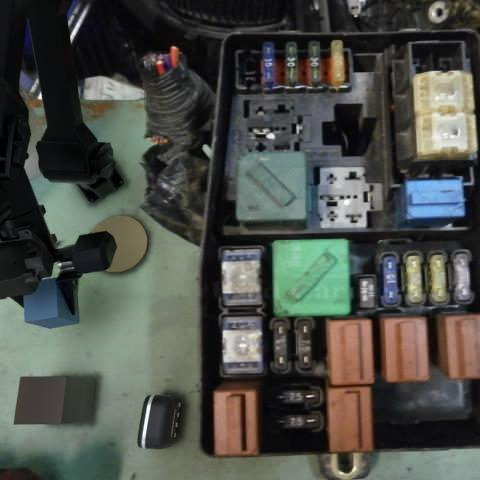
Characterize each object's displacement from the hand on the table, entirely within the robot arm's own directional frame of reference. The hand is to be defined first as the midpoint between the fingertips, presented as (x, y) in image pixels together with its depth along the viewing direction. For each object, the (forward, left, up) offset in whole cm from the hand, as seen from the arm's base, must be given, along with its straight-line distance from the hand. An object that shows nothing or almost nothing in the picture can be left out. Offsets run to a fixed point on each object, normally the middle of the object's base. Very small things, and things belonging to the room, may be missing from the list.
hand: (57, 316), depth 71 cm
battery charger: (+19, +3, -14) cm, 23 cm away
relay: (-1, +1, -2) cm, 2 cm away
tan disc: (-9, +10, -13) cm, 19 cm away
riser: (+8, -8, -13) cm, 17 cm away
